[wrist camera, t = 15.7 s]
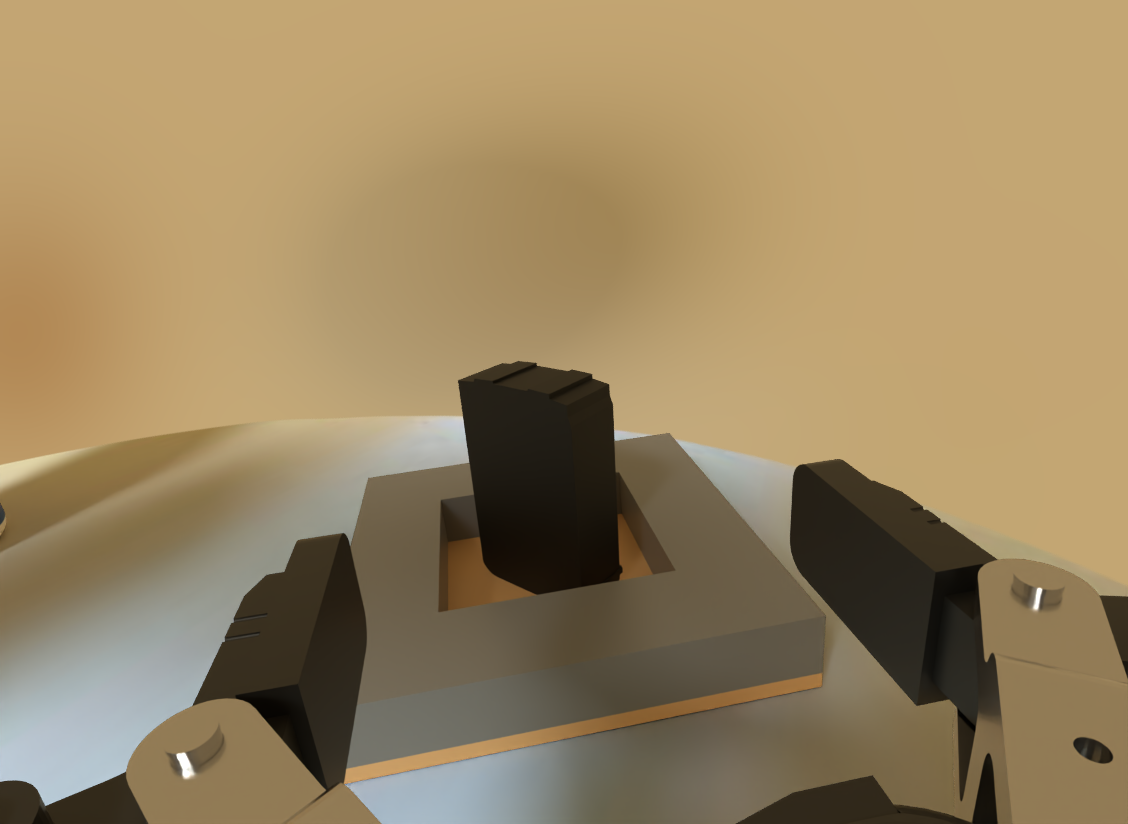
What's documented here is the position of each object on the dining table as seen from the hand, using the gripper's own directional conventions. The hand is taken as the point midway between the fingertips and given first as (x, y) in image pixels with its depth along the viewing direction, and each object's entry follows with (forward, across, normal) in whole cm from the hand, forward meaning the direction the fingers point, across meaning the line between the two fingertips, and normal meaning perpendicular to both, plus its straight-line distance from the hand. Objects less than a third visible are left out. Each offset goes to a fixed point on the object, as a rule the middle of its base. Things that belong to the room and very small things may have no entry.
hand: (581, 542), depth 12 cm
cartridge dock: (+11, 0, +9) cm, 14 cm away
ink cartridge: (+11, 0, +8) cm, 14 cm away
